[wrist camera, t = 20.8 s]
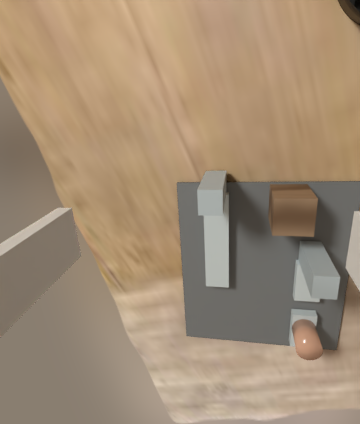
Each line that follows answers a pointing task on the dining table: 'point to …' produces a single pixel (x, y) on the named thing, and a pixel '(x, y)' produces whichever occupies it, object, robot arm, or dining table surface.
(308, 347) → the peach egg shape
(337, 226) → the mat
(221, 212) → the grey stepped bracket
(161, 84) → the dining table surface
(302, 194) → the block
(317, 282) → the broken strip
